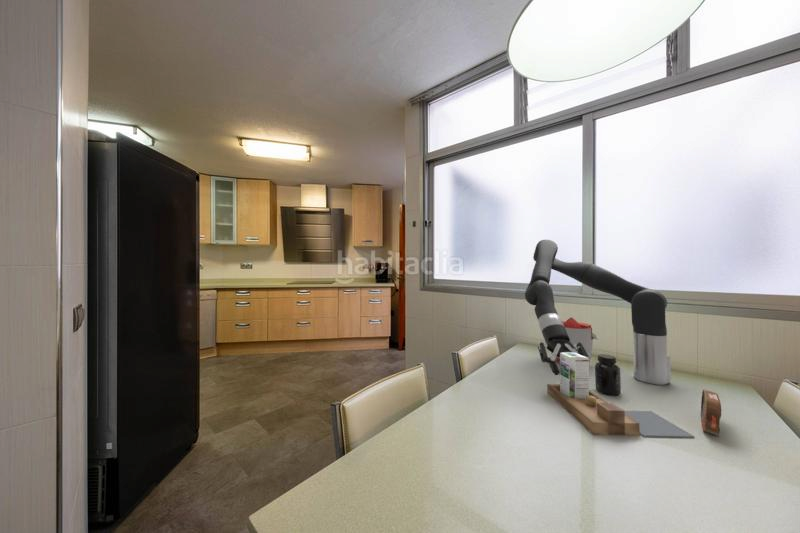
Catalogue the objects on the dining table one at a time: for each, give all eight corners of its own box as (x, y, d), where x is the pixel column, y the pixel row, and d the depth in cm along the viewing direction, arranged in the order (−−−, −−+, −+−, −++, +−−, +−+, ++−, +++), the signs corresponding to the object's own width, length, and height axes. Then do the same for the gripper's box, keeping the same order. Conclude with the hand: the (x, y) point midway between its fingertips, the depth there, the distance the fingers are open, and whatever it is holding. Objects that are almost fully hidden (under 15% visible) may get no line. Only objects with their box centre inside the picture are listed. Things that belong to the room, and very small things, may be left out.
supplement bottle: (611, 388, 95) (611, 353, 95) (626, 397, 88) (625, 359, 88) (590, 387, 95) (590, 352, 96) (603, 396, 89) (602, 359, 89)
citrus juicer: (600, 372, 109) (599, 322, 110) (550, 365, 118) (550, 318, 119) (597, 361, 123) (596, 316, 123) (552, 355, 132) (552, 313, 132)
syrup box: (559, 397, 88) (558, 352, 88) (576, 396, 88) (576, 351, 89) (571, 406, 82) (571, 357, 82) (590, 405, 83) (589, 357, 83)
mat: (651, 412, 79) (651, 411, 79) (694, 437, 67) (694, 436, 67) (608, 411, 79) (608, 410, 79) (643, 436, 67) (643, 435, 67)
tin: (700, 414, 78) (699, 384, 78) (717, 418, 75) (716, 387, 76) (703, 437, 67) (702, 402, 67) (723, 442, 65) (722, 406, 65)
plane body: (581, 393, 91) (581, 375, 91) (639, 435, 68) (639, 411, 68) (547, 393, 91) (547, 375, 91) (593, 434, 68) (593, 410, 68)
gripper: (569, 334, 100) (589, 379, 89) (529, 334, 100) (544, 379, 89) (577, 323, 94) (600, 369, 83) (535, 323, 95) (552, 369, 84)
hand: (571, 374), depth 86 cm, fingers open, 8 cm apart
